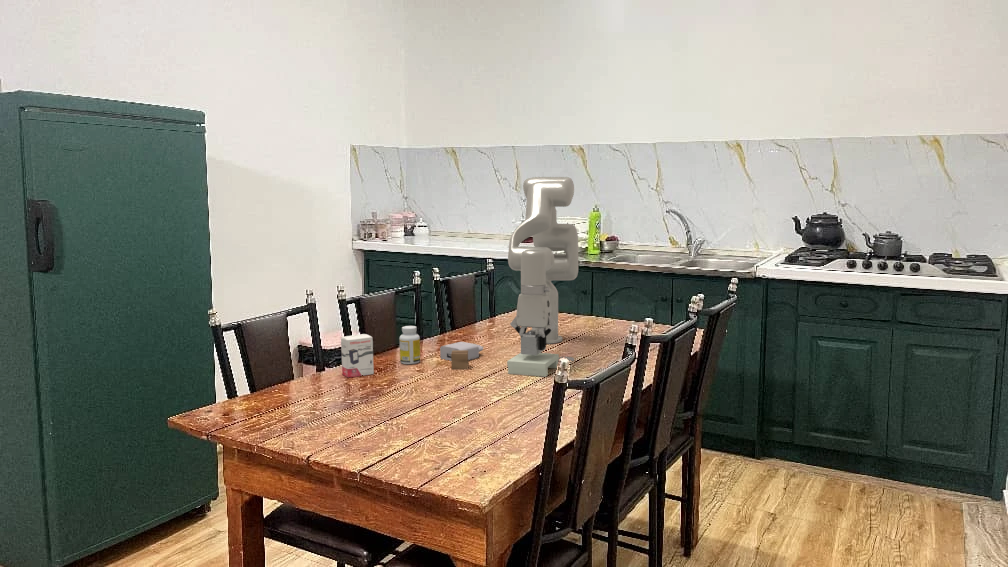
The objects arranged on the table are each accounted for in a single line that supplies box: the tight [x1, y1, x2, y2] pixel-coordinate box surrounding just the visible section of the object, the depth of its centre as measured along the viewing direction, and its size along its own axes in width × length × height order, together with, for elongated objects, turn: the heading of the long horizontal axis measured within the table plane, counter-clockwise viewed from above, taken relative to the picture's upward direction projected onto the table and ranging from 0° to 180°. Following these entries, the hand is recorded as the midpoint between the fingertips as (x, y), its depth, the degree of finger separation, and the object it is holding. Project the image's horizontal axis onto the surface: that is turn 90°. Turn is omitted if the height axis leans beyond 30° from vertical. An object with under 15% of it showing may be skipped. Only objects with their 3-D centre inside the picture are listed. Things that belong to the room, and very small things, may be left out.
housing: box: [520, 329, 547, 355], centre depth 247 cm, size 9×5×7 cm, turn 158°
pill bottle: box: [398, 325, 421, 365], centre depth 259 cm, size 6×6×12 cm
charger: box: [439, 341, 484, 362], centre depth 267 cm, size 5×9×15 cm
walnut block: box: [450, 350, 469, 371], centre depth 252 cm, size 5×5×5 cm
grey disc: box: [558, 356, 575, 362], centre depth 261 cm, size 5×5×1 cm
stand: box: [506, 352, 560, 378], centre depth 248 cm, size 14×12×4 cm
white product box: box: [340, 333, 375, 379], centre depth 244 cm, size 8×5×12 cm, turn 123°
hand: (533, 348), depth 247 cm, fingers closed on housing, 5 cm apart
